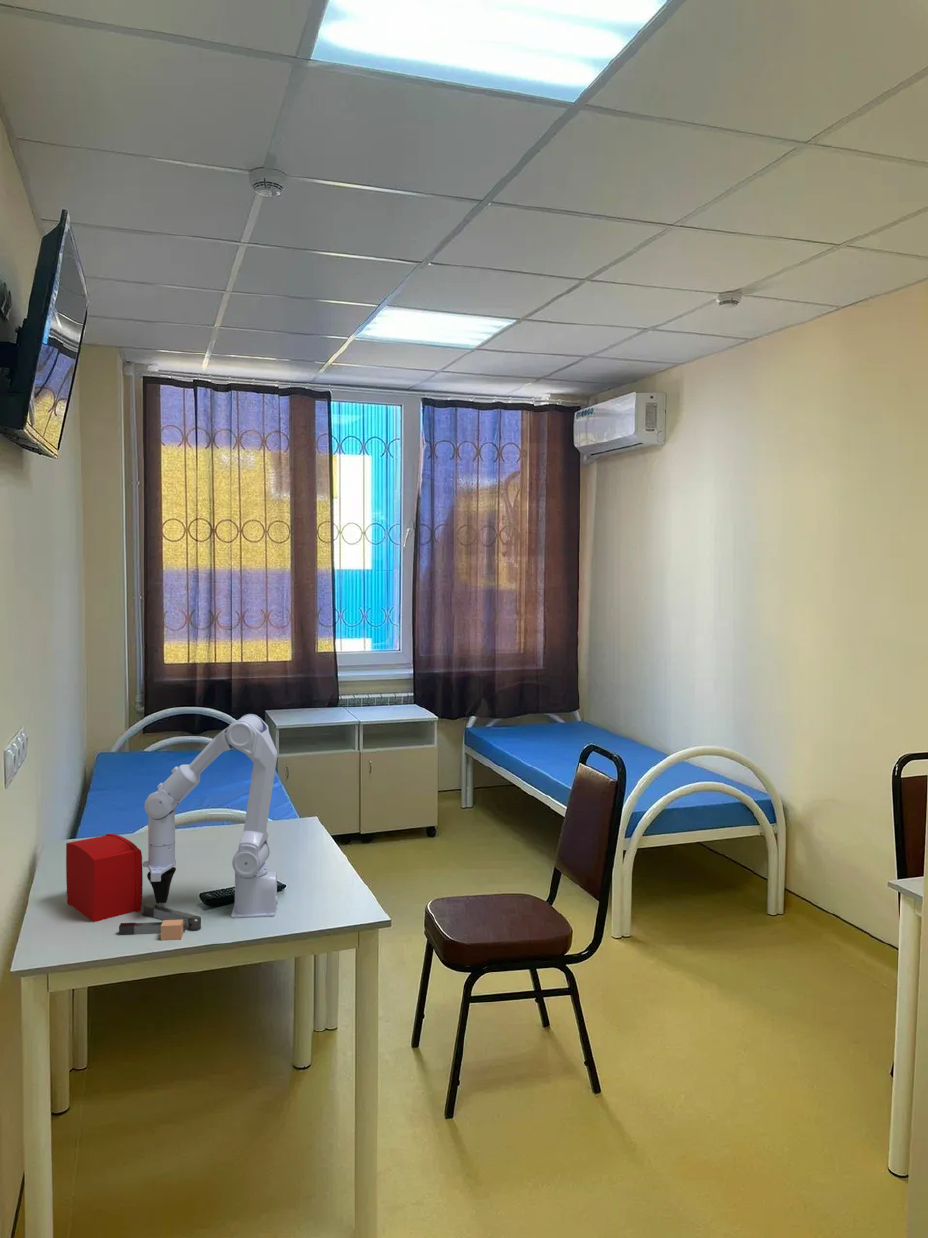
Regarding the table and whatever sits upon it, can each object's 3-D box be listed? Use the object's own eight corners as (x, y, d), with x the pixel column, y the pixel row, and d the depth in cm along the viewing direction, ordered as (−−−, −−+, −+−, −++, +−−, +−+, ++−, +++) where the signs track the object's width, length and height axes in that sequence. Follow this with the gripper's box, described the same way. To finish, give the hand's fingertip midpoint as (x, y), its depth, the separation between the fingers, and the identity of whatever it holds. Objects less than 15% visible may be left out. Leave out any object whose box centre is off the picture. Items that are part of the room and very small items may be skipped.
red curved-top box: (143, 911, 199) (143, 845, 198) (94, 924, 192) (94, 855, 191) (112, 891, 211) (112, 829, 210) (66, 903, 203) (65, 838, 202)
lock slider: (183, 933, 187) (183, 919, 187) (180, 939, 184) (180, 925, 184) (163, 934, 186) (163, 920, 186) (160, 940, 183) (160, 926, 183)
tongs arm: (205, 926, 191) (205, 916, 190) (194, 932, 188) (195, 921, 188) (149, 912, 198) (149, 902, 198) (138, 917, 195) (138, 907, 195)
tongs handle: (185, 930, 189) (185, 920, 189) (184, 933, 187) (184, 923, 187) (120, 932, 187) (120, 923, 187) (119, 936, 185) (119, 926, 185)
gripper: (149, 833, 206) (149, 891, 207) (136, 853, 192) (136, 915, 193) (181, 833, 207) (181, 890, 208) (170, 852, 193) (169, 914, 194)
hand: (161, 902), depth 200 cm, fingers closed
